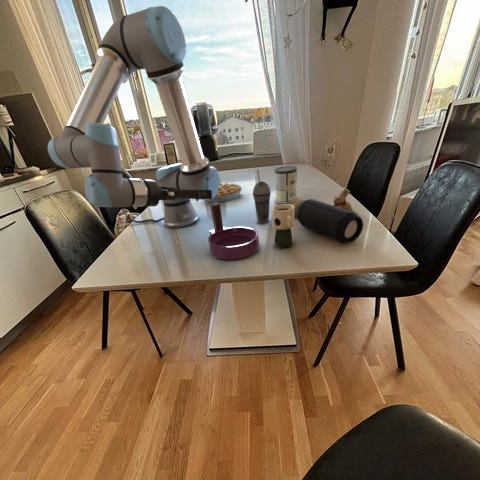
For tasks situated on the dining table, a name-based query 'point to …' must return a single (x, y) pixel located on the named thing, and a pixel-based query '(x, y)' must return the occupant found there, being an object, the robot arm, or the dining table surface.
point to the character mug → (283, 224)
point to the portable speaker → (330, 220)
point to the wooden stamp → (216, 218)
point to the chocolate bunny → (342, 200)
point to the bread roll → (296, 205)
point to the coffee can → (285, 184)
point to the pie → (226, 193)
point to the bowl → (234, 243)
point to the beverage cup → (262, 201)
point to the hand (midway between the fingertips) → (198, 194)
